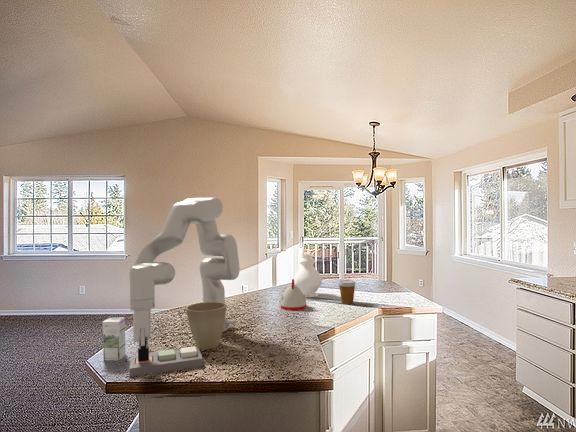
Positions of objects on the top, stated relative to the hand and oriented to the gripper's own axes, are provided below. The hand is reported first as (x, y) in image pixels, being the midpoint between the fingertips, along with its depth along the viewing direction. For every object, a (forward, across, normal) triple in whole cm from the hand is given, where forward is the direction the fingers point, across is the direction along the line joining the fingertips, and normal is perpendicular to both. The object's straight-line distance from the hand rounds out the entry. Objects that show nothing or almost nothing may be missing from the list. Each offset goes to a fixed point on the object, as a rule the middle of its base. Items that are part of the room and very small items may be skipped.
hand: (143, 360), depth 125 cm
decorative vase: (+3, -88, +93) cm, 128 cm away
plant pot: (+4, -14, +22) cm, 27 cm away
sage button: (+1, 0, +7) cm, 7 cm away
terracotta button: (+2, 0, 0) cm, 3 cm away
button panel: (+4, 0, +7) cm, 8 cm away
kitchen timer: (+3, -62, +74) cm, 97 cm away
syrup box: (+4, -14, -10) cm, 18 cm away
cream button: (+1, 0, +14) cm, 14 cm away
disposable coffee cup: (+3, -59, +105) cm, 121 cm away
